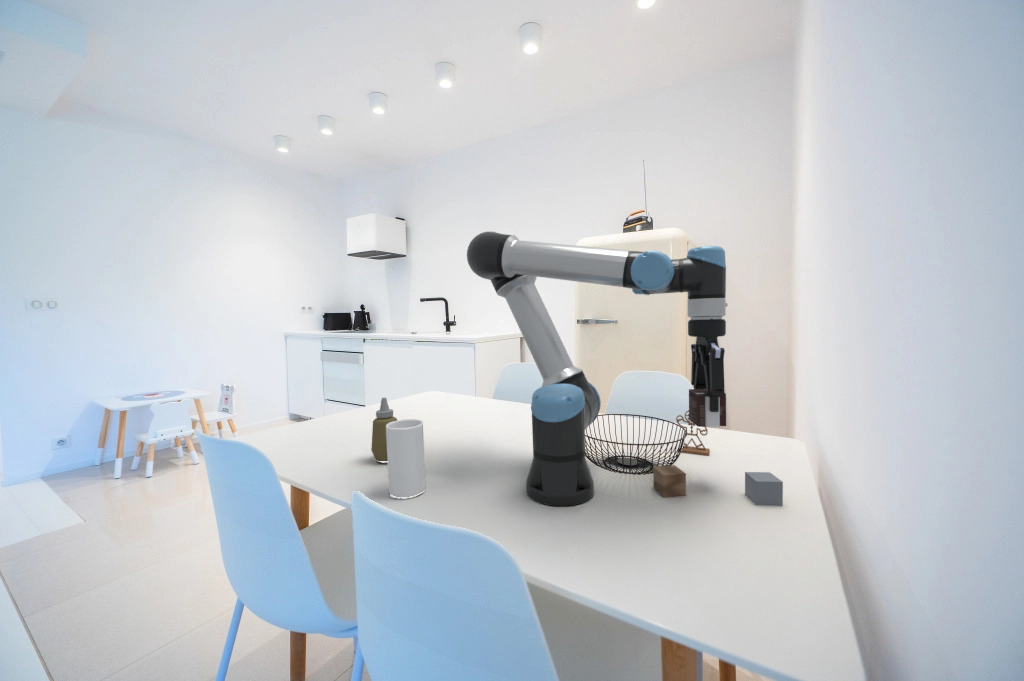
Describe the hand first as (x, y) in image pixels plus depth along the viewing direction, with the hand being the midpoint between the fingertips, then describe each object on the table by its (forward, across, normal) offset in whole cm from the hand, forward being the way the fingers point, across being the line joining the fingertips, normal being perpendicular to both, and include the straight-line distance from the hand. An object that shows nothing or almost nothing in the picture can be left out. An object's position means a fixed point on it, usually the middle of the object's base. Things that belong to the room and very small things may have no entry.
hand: (706, 421), depth 90 cm
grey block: (+15, -6, -9) cm, 18 cm away
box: (+1, 0, 0) cm, 1 cm away
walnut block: (+15, -3, +9) cm, 18 cm away
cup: (+15, -6, +68) cm, 70 cm away
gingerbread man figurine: (+15, +24, -4) cm, 29 cm away
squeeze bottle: (+15, +14, +82) cm, 84 cm away
